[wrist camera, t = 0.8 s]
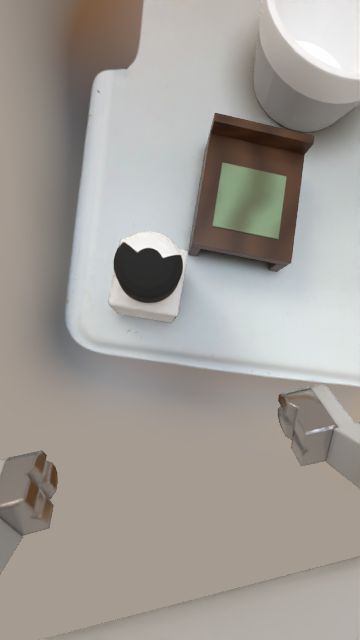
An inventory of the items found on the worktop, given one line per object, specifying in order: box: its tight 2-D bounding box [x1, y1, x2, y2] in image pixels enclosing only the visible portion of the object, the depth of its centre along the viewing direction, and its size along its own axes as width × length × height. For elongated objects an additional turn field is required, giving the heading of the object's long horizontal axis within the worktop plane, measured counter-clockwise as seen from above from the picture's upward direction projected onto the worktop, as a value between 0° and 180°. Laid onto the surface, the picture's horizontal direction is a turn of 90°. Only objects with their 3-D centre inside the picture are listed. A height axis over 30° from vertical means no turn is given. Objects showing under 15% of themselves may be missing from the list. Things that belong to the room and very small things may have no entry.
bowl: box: [253, 0, 360, 132], centre depth 37 cm, size 19×19×11 cm
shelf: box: [188, 113, 314, 272], centre depth 36 cm, size 12×15×6 cm
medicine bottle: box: [108, 232, 188, 322], centre depth 31 cm, size 7×7×12 cm
